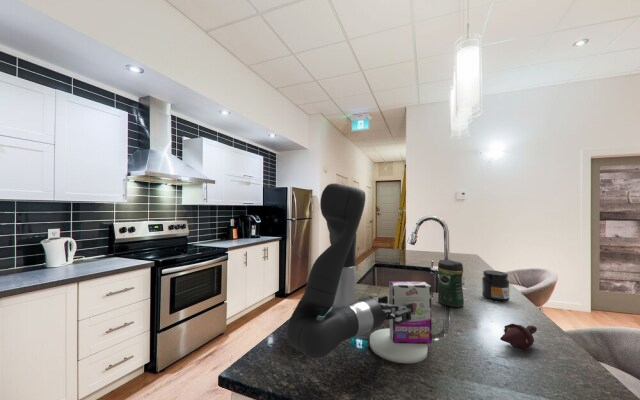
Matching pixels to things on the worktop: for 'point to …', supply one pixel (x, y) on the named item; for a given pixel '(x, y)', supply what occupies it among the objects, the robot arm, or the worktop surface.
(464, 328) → the worktop surface
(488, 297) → the supplement container
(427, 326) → the candy bar box
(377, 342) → the plate
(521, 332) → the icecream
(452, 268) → the coffee jar
